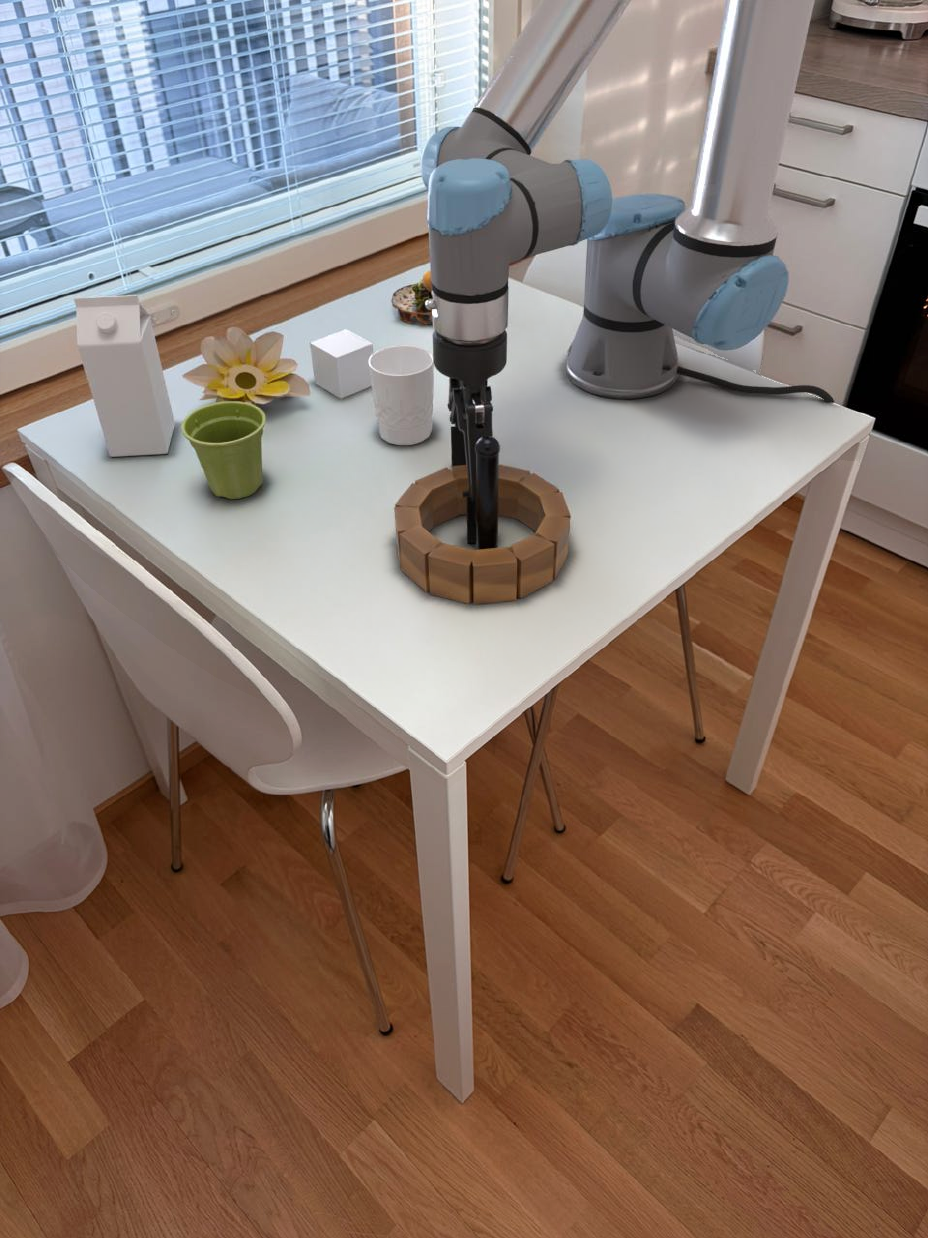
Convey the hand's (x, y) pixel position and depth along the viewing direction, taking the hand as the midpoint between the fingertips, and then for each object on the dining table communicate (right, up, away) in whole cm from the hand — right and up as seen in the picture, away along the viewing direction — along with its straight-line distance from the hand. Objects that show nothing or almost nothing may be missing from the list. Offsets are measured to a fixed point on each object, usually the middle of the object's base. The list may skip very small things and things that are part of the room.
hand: (471, 506), depth 113 cm
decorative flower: (-29, +15, +18) cm, 38 cm away
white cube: (-17, +19, +23) cm, 34 cm away
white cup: (-8, +11, +13) cm, 19 cm away
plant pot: (-28, +3, +4) cm, 28 cm away
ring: (+1, -5, -6) cm, 8 cm away
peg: (+2, -8, -8) cm, 12 cm away
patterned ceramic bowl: (-6, +35, +40) cm, 54 cm away
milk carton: (-41, +9, +12) cm, 44 cm away
